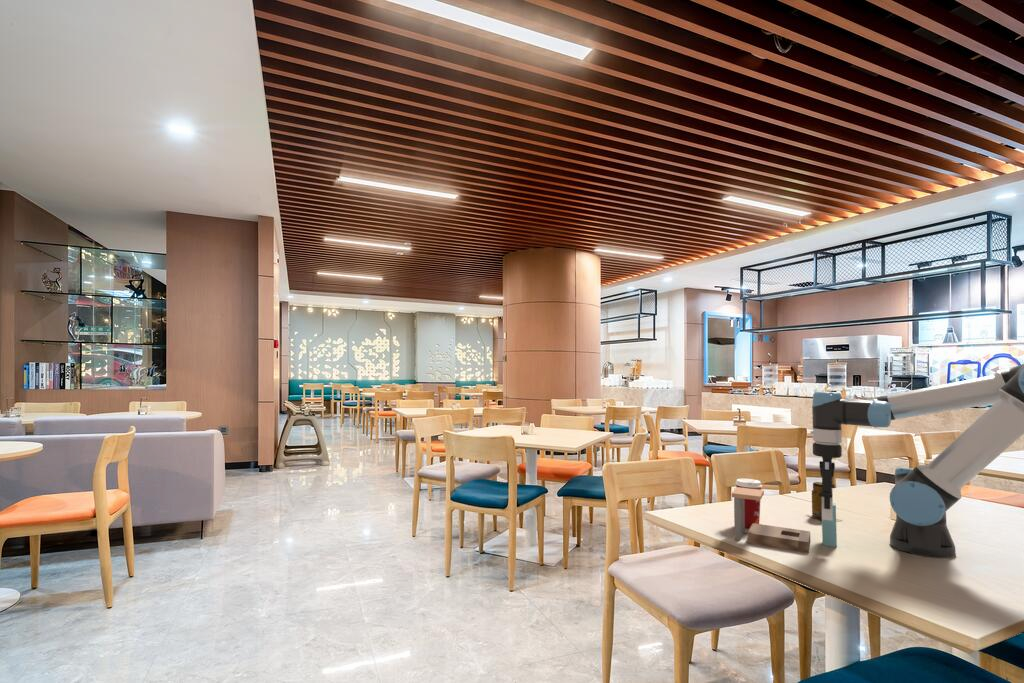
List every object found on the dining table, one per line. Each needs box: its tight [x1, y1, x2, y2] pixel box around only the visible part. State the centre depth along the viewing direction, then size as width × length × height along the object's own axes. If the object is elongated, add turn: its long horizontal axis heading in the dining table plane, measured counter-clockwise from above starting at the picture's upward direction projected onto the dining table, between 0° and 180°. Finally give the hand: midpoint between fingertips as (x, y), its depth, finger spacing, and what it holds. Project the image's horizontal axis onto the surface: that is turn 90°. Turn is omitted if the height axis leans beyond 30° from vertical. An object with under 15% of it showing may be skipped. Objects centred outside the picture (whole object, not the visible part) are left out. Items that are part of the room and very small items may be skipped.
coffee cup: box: [734, 478, 763, 530], centre depth 176 cm, size 8×8×15 cm
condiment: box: [806, 481, 843, 522], centre depth 186 cm, size 7×8×12 cm
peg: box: [821, 502, 838, 548], centre depth 158 cm, size 4×4×12 cm
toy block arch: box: [731, 487, 765, 541], centre depth 164 cm, size 8×10×14 cm
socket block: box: [747, 523, 811, 554], centre depth 159 cm, size 16×12×3 cm
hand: (827, 514), depth 158 cm, fingers open, 13 cm apart
